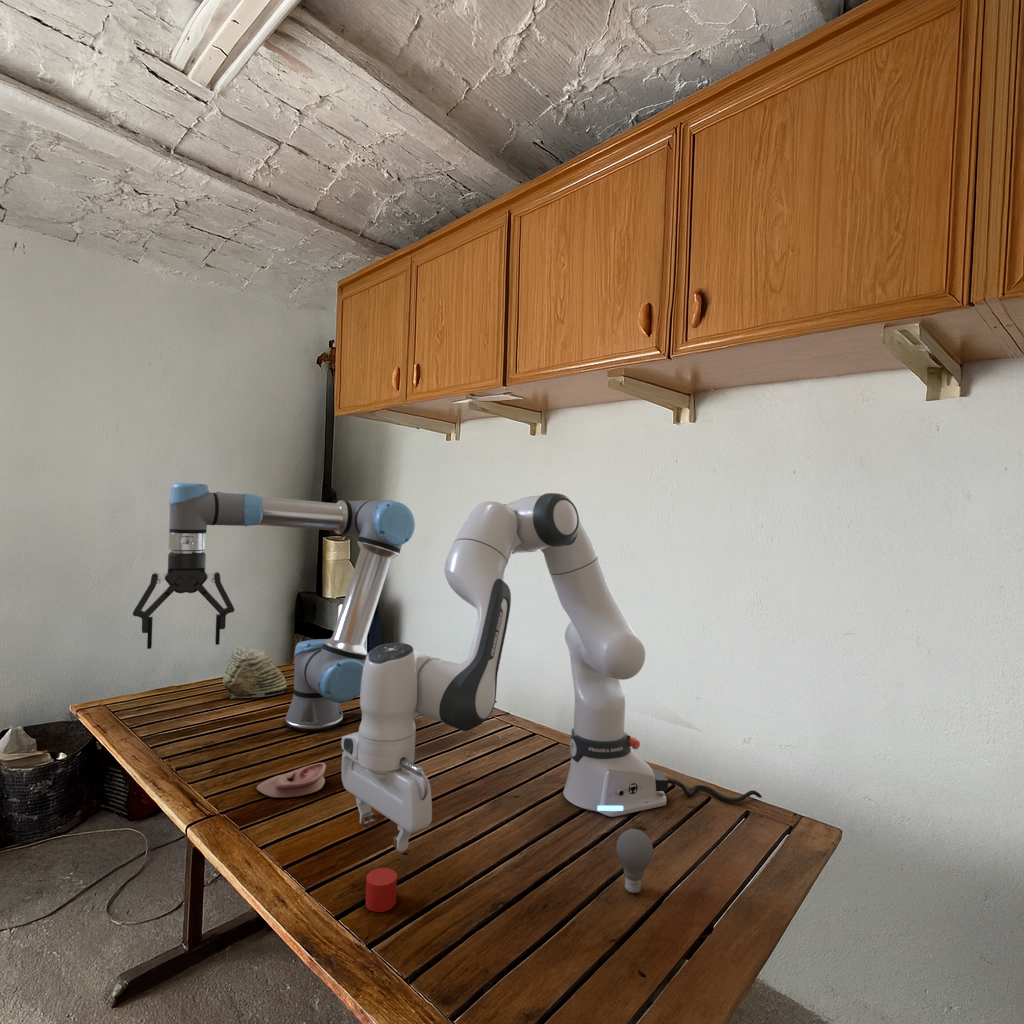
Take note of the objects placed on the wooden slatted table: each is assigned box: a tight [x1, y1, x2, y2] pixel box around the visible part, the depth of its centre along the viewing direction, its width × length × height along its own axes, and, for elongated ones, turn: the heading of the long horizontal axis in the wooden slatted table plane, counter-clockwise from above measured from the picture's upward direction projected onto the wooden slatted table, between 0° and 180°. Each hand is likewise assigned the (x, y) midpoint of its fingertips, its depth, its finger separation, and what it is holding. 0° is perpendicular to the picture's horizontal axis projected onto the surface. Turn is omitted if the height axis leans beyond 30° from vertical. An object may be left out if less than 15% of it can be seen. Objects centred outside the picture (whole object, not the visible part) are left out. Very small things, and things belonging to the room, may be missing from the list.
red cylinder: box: [365, 867, 398, 913], centre depth 100 cm, size 5×5×4 cm
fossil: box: [222, 646, 288, 699], centre depth 198 cm, size 9×18×15 cm, turn 132°
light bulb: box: [615, 828, 654, 894], centre depth 106 cm, size 6×6×10 cm
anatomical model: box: [256, 762, 327, 799], centre depth 137 cm, size 13×4×12 cm
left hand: (184, 645), depth 143 cm, fingers open, 13 cm apart
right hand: (383, 836), depth 100 cm, fingers open, 8 cm apart
